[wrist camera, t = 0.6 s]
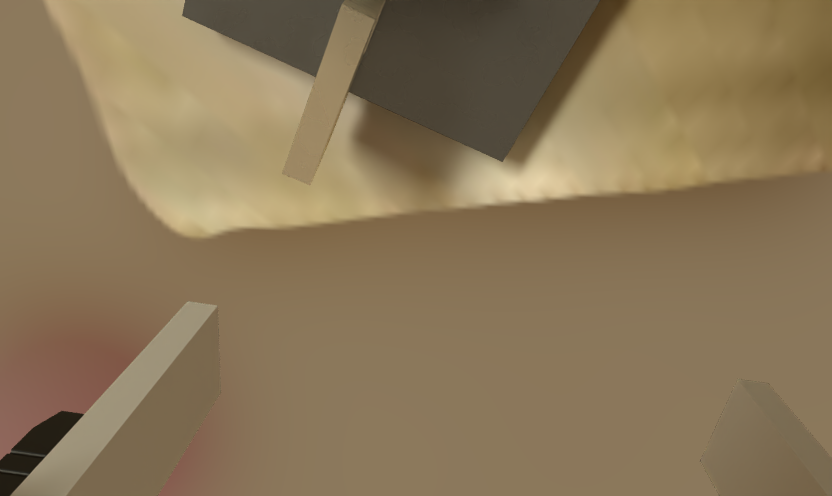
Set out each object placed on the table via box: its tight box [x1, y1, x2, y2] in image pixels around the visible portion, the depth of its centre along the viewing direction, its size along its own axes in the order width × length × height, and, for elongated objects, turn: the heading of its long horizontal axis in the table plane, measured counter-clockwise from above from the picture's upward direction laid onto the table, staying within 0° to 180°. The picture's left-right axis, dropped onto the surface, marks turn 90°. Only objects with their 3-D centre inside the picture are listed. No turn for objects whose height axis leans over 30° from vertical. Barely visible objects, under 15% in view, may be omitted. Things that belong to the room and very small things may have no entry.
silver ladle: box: [282, 0, 394, 185], centre depth 25 cm, size 17×8×6 cm, turn 155°
